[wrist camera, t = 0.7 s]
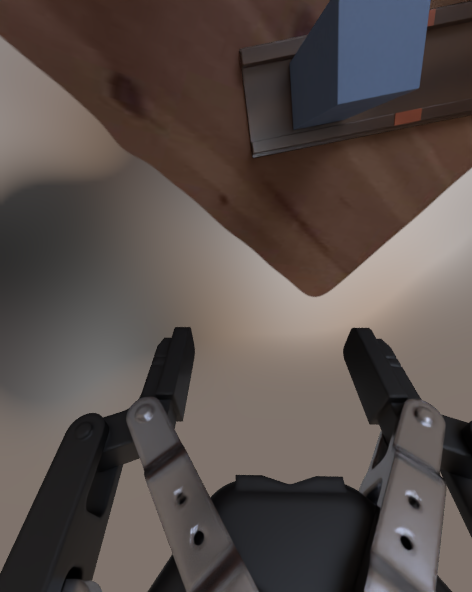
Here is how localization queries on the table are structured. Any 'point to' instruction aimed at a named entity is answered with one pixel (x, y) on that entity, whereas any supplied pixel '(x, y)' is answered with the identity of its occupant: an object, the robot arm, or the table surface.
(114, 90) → the table surface
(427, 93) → the track
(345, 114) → the block
